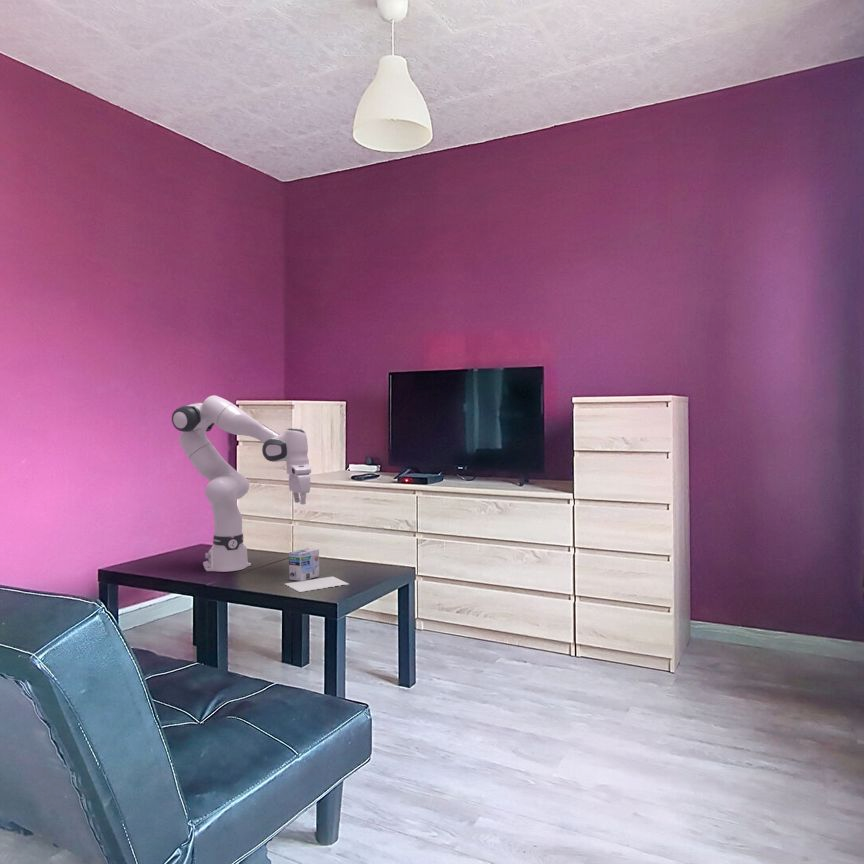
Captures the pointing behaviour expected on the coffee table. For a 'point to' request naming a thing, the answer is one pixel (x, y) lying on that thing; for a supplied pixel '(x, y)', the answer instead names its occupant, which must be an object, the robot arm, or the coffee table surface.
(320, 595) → the coffee table surface
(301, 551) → the light bulb box
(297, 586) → the mat
